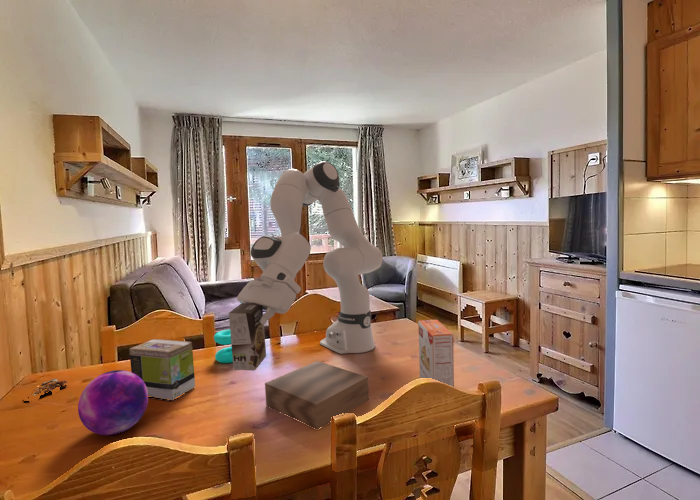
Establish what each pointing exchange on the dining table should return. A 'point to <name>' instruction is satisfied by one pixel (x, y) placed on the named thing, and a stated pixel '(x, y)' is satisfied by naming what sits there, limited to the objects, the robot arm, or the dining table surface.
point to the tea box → (164, 367)
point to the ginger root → (49, 386)
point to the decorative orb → (113, 402)
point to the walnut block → (316, 393)
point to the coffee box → (247, 336)
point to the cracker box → (436, 352)
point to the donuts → (225, 353)
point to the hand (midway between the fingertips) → (249, 320)
